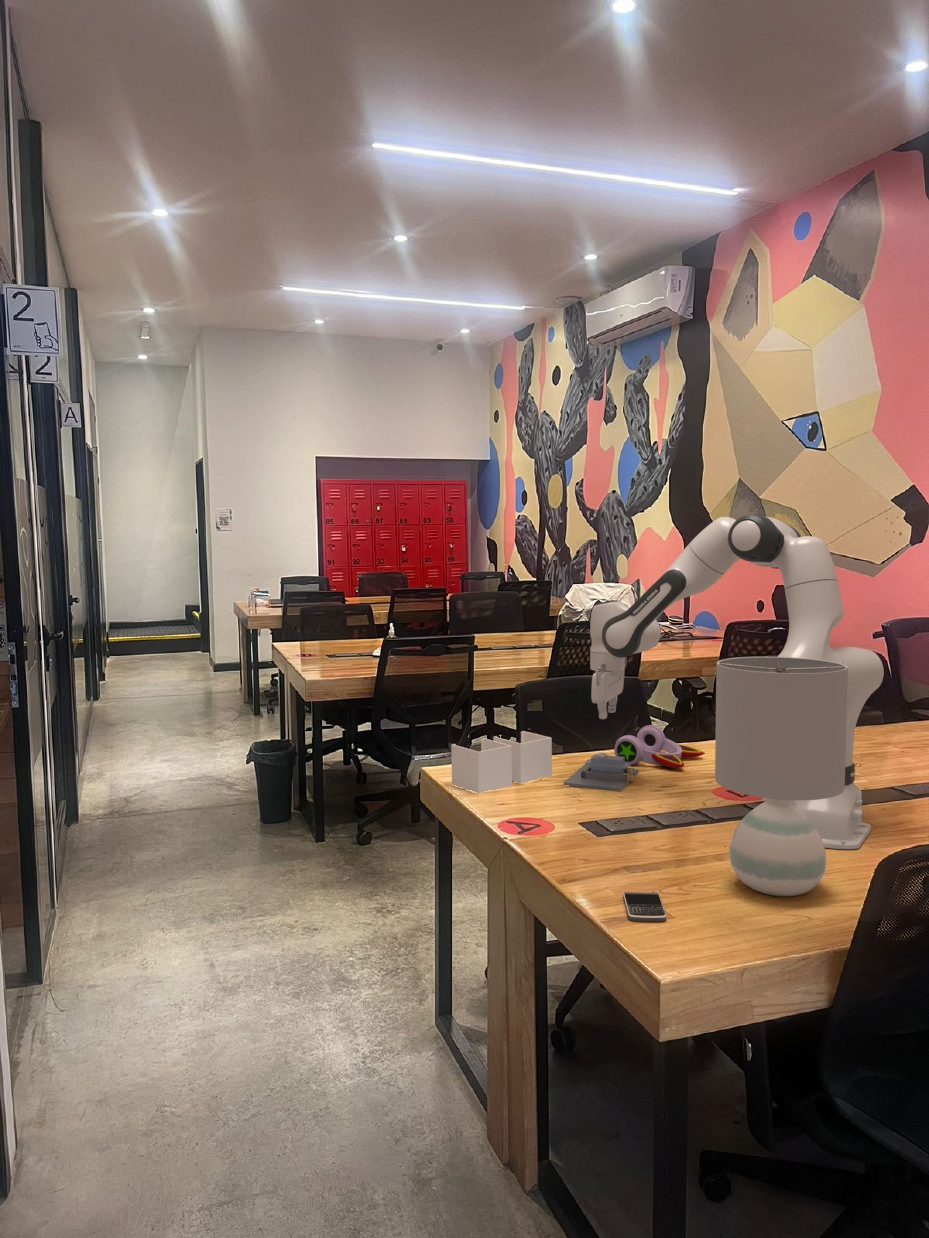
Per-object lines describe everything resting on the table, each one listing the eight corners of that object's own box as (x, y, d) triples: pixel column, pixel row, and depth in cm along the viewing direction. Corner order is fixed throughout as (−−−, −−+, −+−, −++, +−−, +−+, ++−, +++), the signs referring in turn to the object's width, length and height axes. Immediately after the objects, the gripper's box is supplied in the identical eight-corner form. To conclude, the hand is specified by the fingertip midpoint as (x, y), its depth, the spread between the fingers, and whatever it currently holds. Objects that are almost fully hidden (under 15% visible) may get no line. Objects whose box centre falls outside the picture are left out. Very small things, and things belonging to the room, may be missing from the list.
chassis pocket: (621, 791, 219) (621, 781, 219) (563, 785, 225) (563, 775, 224) (638, 772, 237) (638, 763, 237) (584, 767, 243) (584, 758, 243)
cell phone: (629, 924, 143) (629, 916, 143) (622, 897, 154) (622, 889, 154) (667, 925, 143) (667, 916, 143) (658, 898, 154) (658, 890, 154)
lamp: (832, 870, 165) (838, 658, 161) (850, 918, 144) (857, 675, 140) (713, 860, 170) (716, 655, 167) (713, 905, 150) (717, 671, 146)
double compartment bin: (478, 795, 217) (478, 752, 216) (451, 786, 226) (451, 744, 225) (551, 778, 233) (551, 737, 232) (524, 770, 241) (524, 731, 240)
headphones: (638, 724, 263) (703, 723, 251) (642, 756, 263) (707, 757, 252) (611, 736, 246) (679, 735, 235) (614, 771, 246) (683, 772, 235)
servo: (632, 784, 226) (632, 758, 225) (585, 779, 231) (585, 754, 230) (635, 780, 229) (635, 754, 229) (589, 775, 234) (589, 750, 234)
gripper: (609, 668, 217) (609, 723, 218) (628, 658, 235) (628, 709, 236) (584, 667, 219) (585, 721, 220) (605, 658, 238) (605, 708, 239)
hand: (607, 715), depth 228 cm, fingers open, 8 cm apart
